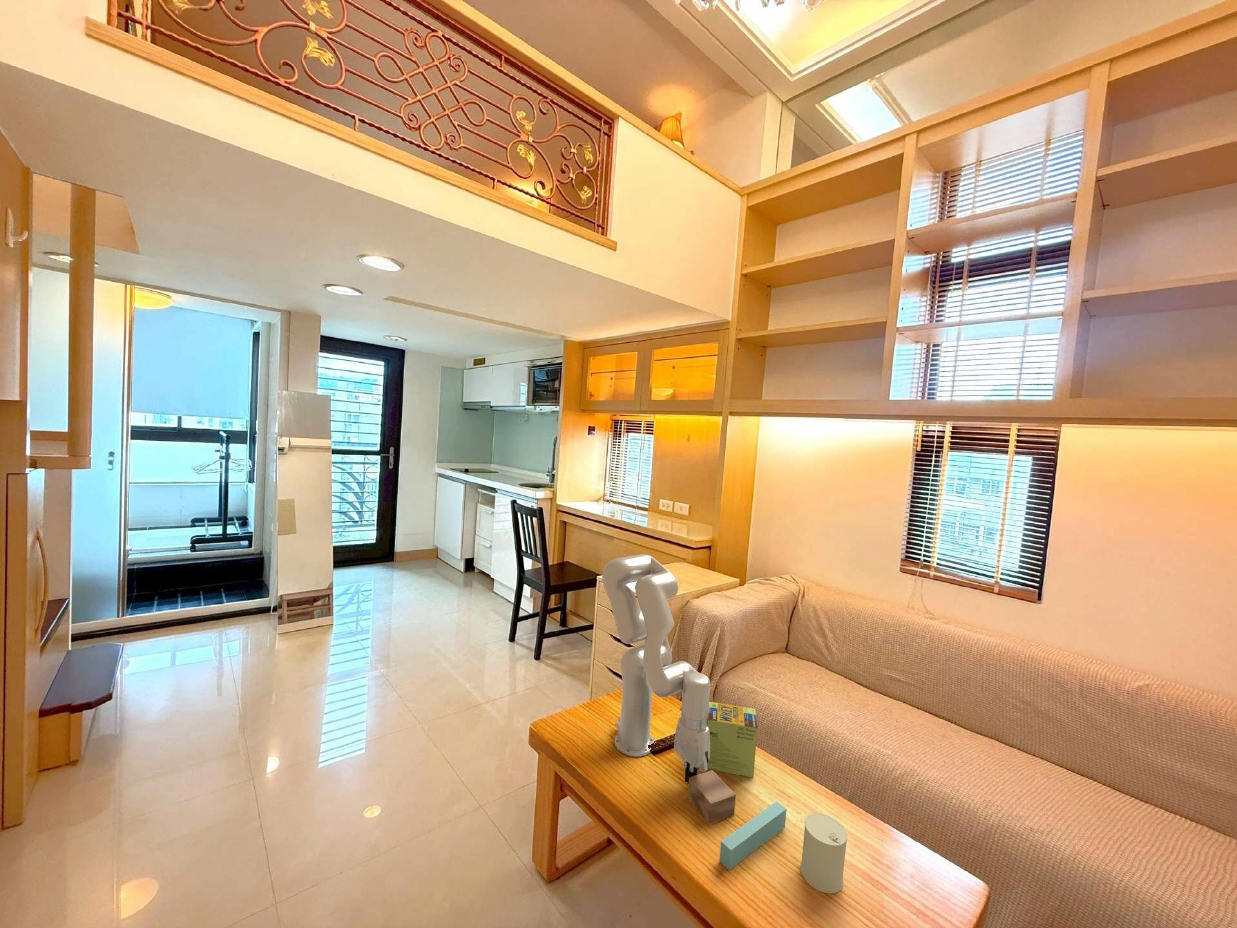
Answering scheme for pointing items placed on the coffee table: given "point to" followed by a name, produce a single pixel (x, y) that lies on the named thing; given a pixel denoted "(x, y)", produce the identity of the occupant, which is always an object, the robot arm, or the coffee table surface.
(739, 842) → the teal board
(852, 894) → the coffee table surface
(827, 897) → the coffee table surface
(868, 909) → the coffee table surface
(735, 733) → the protein box
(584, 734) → the coffee table surface
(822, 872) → the can
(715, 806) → the brown block
